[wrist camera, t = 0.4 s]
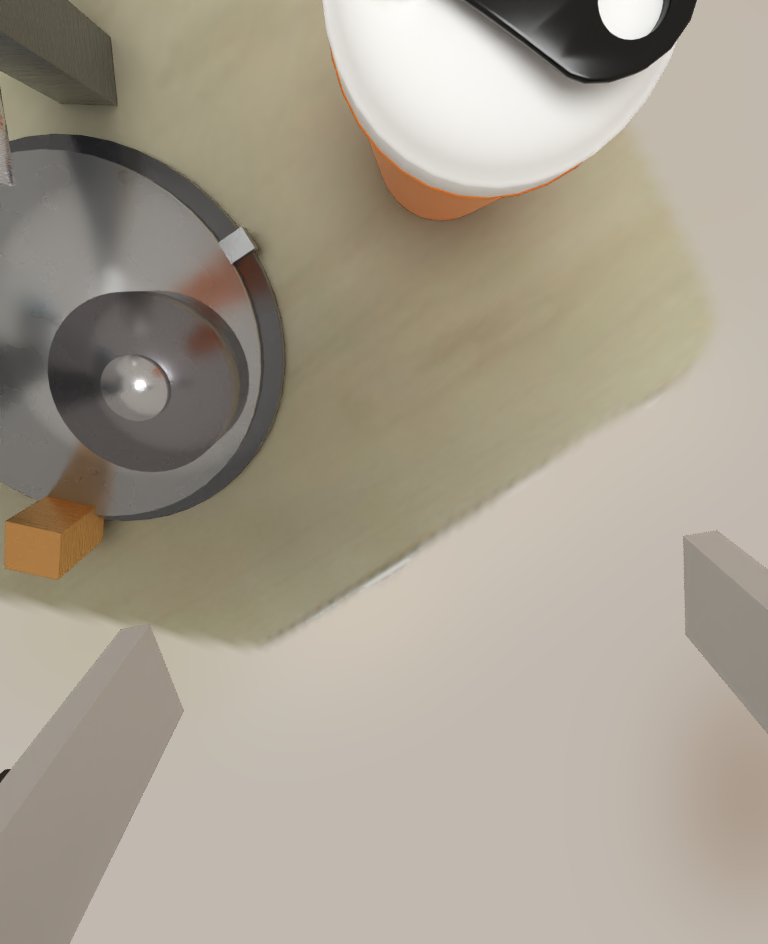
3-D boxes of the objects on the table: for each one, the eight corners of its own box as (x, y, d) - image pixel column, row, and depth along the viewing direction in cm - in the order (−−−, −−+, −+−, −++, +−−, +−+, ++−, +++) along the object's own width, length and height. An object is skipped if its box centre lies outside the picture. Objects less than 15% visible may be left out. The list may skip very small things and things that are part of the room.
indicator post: (65, 207, 30) (-157, 156, 18) (41, 34, 28) (-236, -163, 16) (136, 210, 30) (-37, 161, 18) (120, 37, 28) (-96, -156, 16)
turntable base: (-78, 471, 36) (-91, 476, 35) (-91, 88, 29) (-108, 81, 28) (253, 546, 37) (249, 553, 36) (318, 199, 30) (316, 196, 29)
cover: (85, 429, 32) (36, 452, 28) (95, 271, 29) (44, 269, 25) (236, 465, 33) (212, 493, 28) (261, 314, 30) (239, 319, 25)
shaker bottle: (479, 266, 31) (613, 241, 12) (334, 196, 30) (236, 51, 11) (558, 98, 28) (886, -267, 10) (401, 15, 27) (422, -584, 8)
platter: (-78, 500, 35) (-151, 534, 30) (-92, 107, 28) (-191, 71, 23) (230, 569, 36) (206, 612, 32) (293, 211, 29) (274, 197, 24)
